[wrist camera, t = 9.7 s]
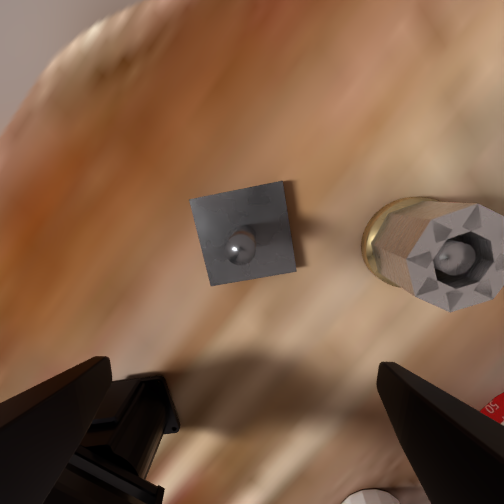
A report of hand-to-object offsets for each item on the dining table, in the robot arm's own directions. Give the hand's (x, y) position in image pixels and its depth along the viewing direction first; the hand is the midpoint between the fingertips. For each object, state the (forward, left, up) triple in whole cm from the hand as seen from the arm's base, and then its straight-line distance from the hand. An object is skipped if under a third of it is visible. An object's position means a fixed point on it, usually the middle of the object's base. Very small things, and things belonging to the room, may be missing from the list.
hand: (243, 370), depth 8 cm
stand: (+3, 0, -12) cm, 12 cm away
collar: (0, -12, -11) cm, 17 cm away
